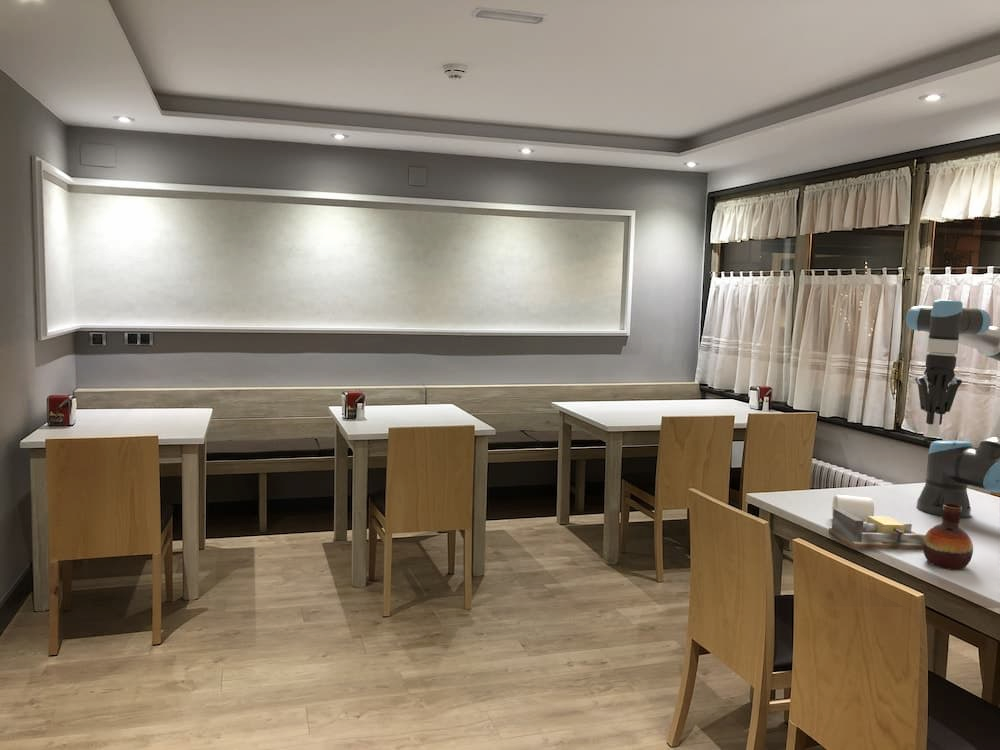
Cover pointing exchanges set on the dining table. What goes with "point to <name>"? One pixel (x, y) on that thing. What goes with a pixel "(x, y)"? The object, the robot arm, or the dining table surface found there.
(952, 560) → the vase
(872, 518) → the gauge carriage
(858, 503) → the mug
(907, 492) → the dining table surface
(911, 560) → the dining table surface
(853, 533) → the bench
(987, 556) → the dining table surface
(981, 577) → the dining table surface
